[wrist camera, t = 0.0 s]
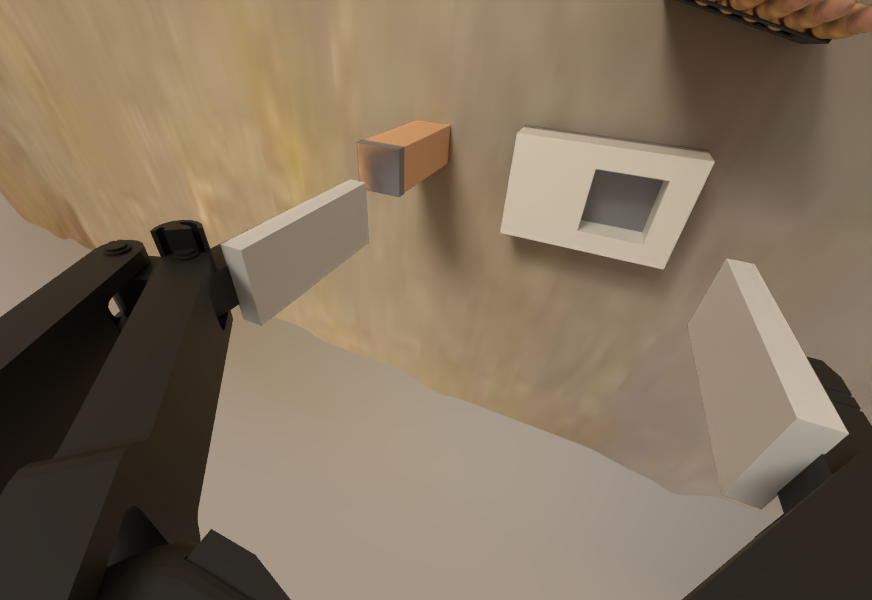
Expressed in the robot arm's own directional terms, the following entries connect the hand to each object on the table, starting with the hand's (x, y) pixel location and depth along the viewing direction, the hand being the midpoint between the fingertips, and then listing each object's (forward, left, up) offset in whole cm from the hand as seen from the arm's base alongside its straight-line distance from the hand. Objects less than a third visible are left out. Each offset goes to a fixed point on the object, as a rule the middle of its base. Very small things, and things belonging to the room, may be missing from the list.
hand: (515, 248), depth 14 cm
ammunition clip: (-9, +9, -28) cm, 31 cm away
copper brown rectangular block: (+4, -15, -28) cm, 32 cm away
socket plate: (+6, +3, -28) cm, 29 cm away
